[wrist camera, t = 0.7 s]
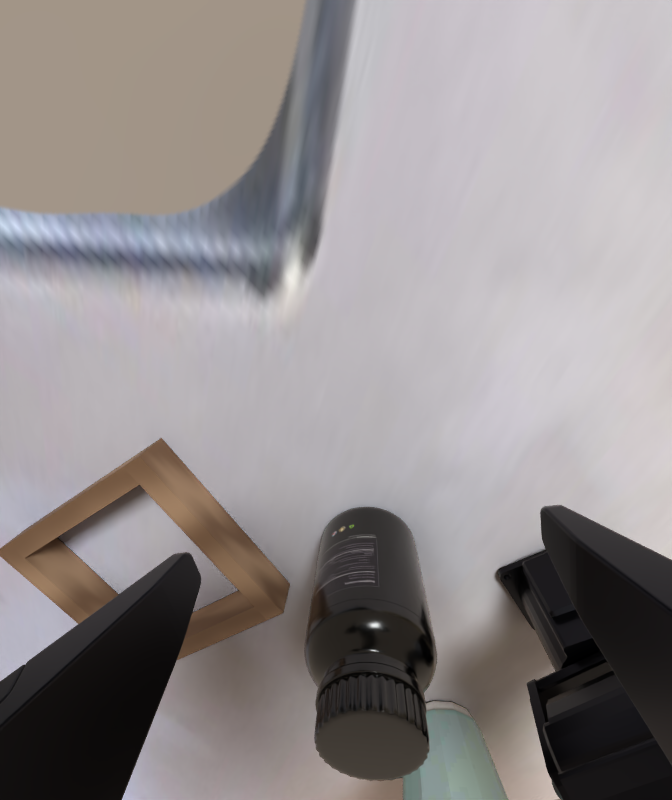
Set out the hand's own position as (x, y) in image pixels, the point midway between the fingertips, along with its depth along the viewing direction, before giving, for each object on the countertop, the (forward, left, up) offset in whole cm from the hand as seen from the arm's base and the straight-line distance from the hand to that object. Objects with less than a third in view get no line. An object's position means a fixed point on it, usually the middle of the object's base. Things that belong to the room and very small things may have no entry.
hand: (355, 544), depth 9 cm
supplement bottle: (-10, +6, -14) cm, 18 cm away
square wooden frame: (-3, +21, -14) cm, 25 cm away
